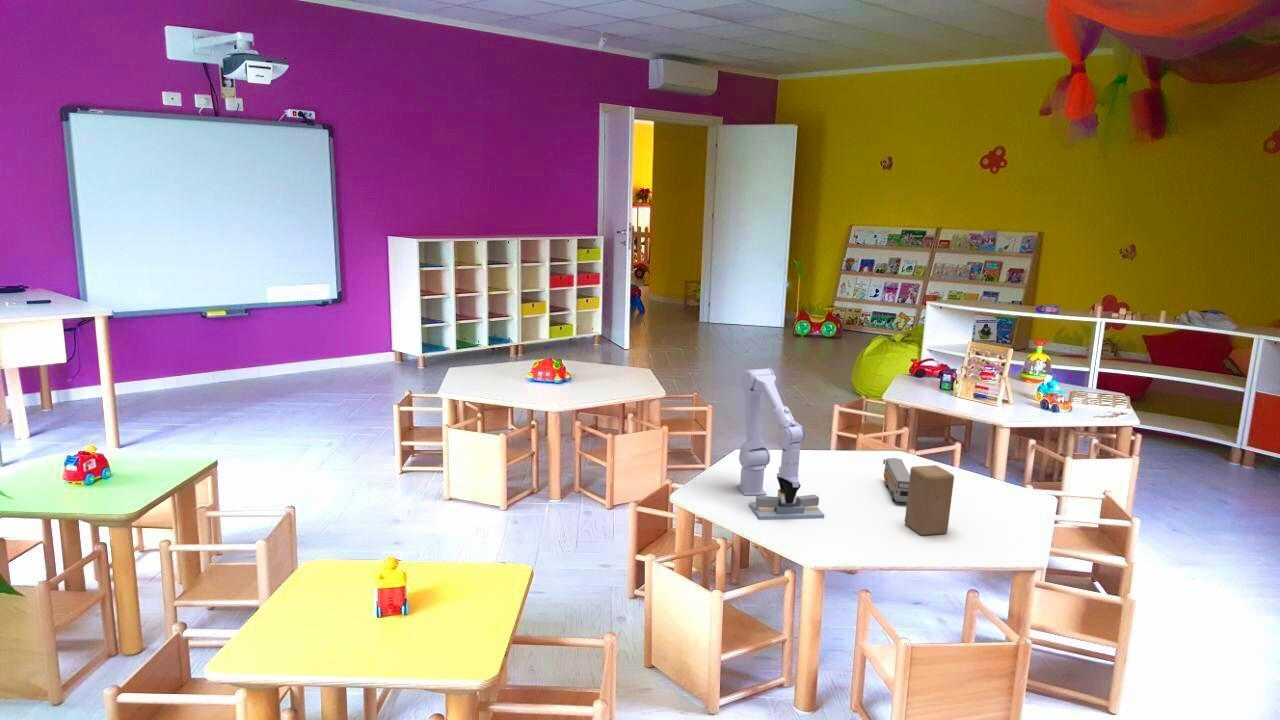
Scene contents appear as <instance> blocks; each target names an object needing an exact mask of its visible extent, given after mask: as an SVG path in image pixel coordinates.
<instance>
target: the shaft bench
mask: <svg viewBox="0 0 1280 720" xmlns="http://www.w3.org/2000/svg"><path fill="white" fill-rule="evenodd" d="M819 503H820V497H819V496H817V495H816V494H807V495H799V496H797V495H796V505H795V507H780V506H779V505H778V497H777V496H767V495H755V501H751V502H750V501H749V502H748V507H749V508H750V509H751V511H752V512H753V513H754V514H755V516H756V517H757V519H758V520H760V521H762V520H764V521H766V520H797V519H798V520H802V519H806V520H807V519H824V518H825V514H824V512H823V511H822V510H821V509H820V508H819V507H818V506H819Z"/></svg>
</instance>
